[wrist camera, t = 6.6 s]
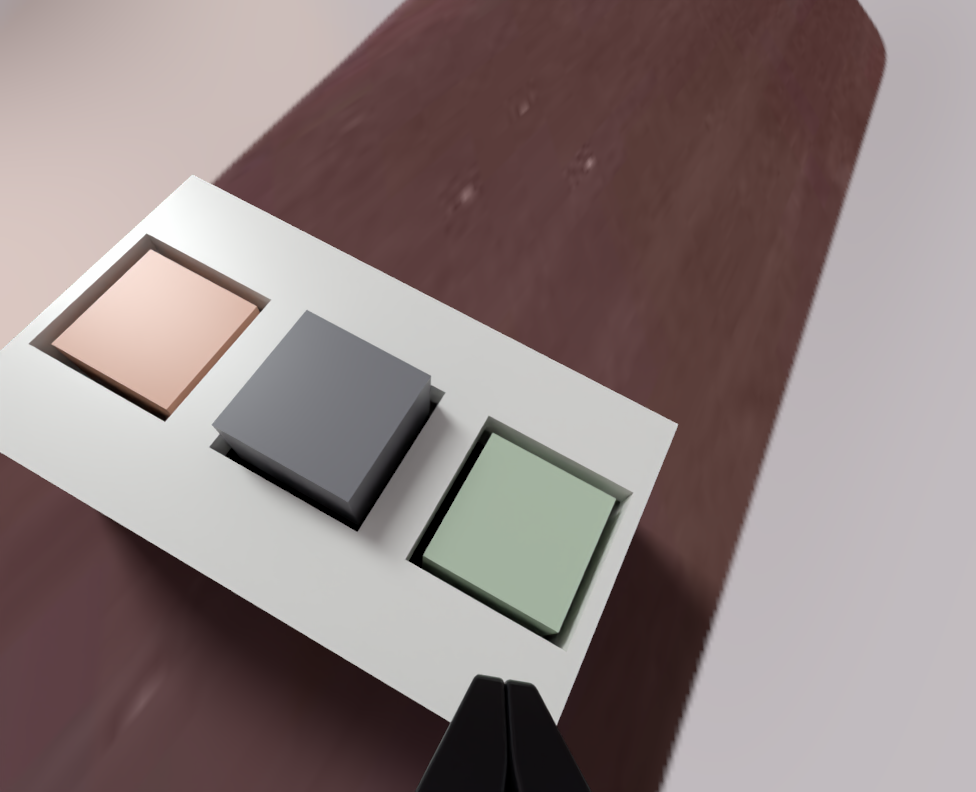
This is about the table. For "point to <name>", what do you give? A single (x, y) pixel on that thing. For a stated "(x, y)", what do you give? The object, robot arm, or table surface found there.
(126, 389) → the terracotta button
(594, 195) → the table surface
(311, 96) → the table surface
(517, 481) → the sage-green button
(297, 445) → the charcoal button
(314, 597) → the button console
